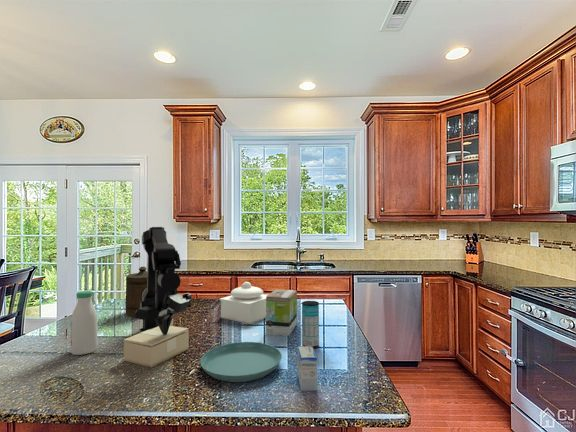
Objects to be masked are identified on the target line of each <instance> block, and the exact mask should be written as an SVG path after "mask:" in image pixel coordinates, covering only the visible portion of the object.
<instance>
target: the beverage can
mask: <svg viewBox="0 0 576 432" xmlns="http://www.w3.org/2000/svg"><path fill="white" fill-rule="evenodd" d="M319 304H320V303H319V301H316V300H305V301H302V302H301V333H302V334H301V343H302V344H301V345H302V347H305V346H308V347H313V349H315V348H318V347H319V344H320V305H319Z"/></svg>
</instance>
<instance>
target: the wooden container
mask: <svg viewBox="0 0 576 432" xmlns="http://www.w3.org/2000/svg"><path fill="white" fill-rule="evenodd" d="M146 290H147V266H140V267H139V268H138V272H136V273H129V274H127V275H125V302H124V303H125V305H124V306H125V309H124V310H125V315H126V316H127V317H132V316H135V312H136V310H137V309H139V308H140V303H141V301H142V296H143V294H144V293H145V291H146Z"/></svg>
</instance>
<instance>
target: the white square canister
mask: <svg viewBox="0 0 576 432" xmlns="http://www.w3.org/2000/svg"><path fill="white" fill-rule="evenodd" d="M268 295H269V294H264V290H263V289H262V288H260V287H258V286H252V284H251V282H249V281H244V282H243V283H242V284H241V286H238V287H236V288H234V289H232V290H231V291H230V295H227V296H224V297H221V298H219V301H220V318H221V319H226V320H230V321H235V322H240V323H244V324H249V325H252V324H254V323H257V322H258V321H261V320H263V319H266V296H268Z"/></svg>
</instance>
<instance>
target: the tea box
mask: <svg viewBox="0 0 576 432" xmlns="http://www.w3.org/2000/svg"><path fill="white" fill-rule="evenodd" d="M267 295H268V296H266V318H265V334H266V335H273V336H291V334H292V333H293V331H294V329H295V327H296V326H297V320H298V319H297V317H298V312H297V311H298V310H297V309H298V290H295V289H294V290H293V289H278V288H277V289H274V290H272V292H270V293H269V294H267Z"/></svg>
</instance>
